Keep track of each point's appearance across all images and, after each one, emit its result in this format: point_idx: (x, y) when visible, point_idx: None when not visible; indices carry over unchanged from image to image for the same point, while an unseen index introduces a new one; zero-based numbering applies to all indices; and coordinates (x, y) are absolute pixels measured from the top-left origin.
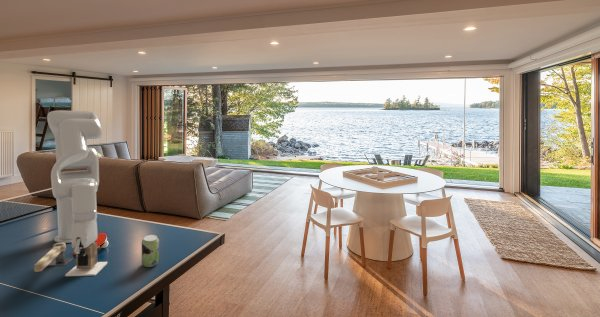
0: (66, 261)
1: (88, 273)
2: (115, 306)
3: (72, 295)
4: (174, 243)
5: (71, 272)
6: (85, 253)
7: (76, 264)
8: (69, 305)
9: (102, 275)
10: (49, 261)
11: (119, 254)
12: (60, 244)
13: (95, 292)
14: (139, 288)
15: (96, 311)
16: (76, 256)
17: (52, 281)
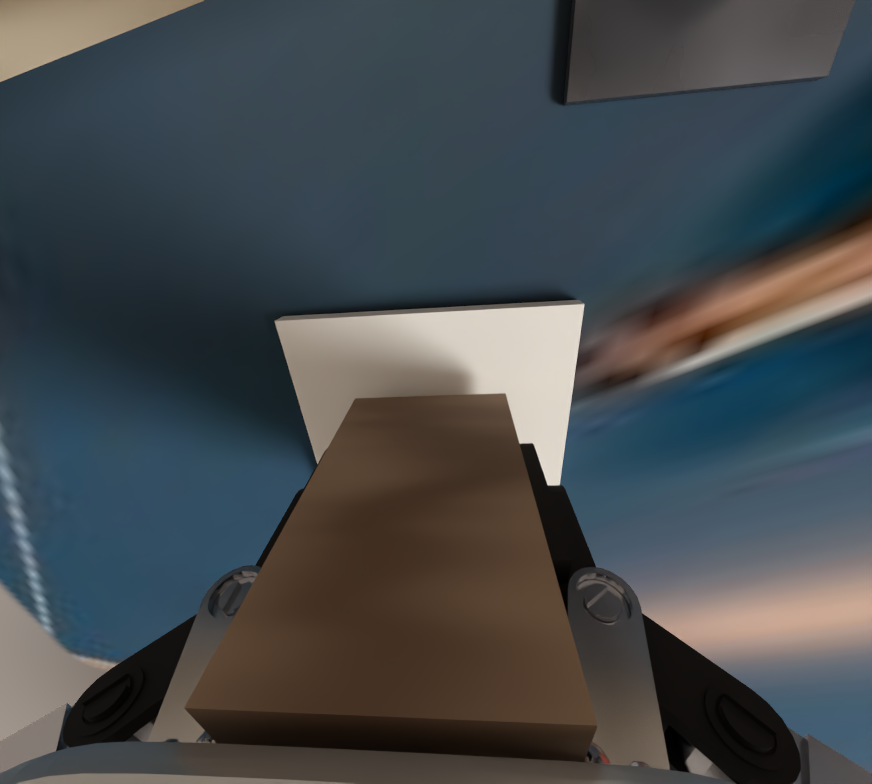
0: (694, 51)
1: None
2: (106, 661)
3: (78, 506)
4: (803, 723)
5: (327, 354)
6: None
7: (342, 425)
8: (2, 534)
9: None
10: (11, 34)
11: (730, 535)
12: None
13: (159, 583)
14: None
15: (43, 627)
16: (298, 512)
17: (159, 253)
